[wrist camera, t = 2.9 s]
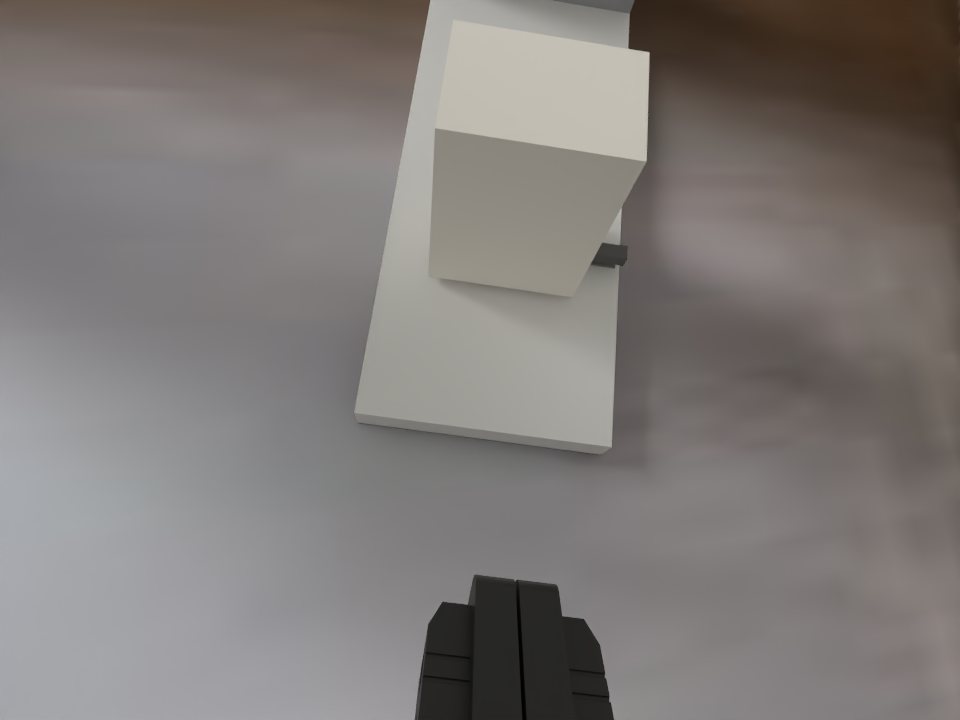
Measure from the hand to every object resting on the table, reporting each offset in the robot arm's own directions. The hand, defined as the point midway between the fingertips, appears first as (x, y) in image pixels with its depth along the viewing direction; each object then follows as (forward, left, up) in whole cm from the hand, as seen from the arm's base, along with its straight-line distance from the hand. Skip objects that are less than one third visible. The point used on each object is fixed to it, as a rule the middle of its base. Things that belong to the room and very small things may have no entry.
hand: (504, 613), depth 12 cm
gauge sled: (+1, +15, -11) cm, 19 cm away
